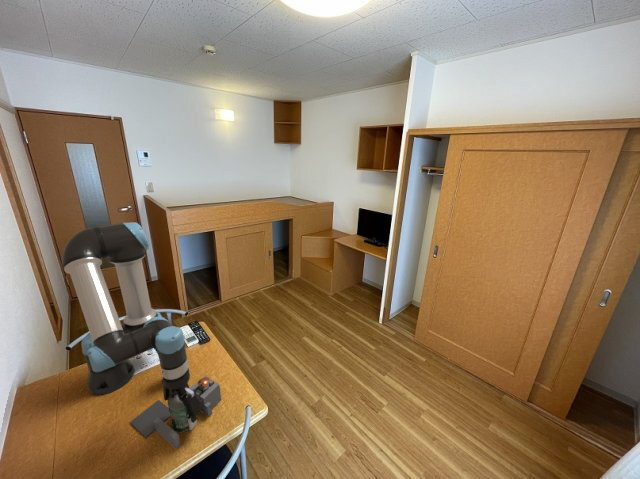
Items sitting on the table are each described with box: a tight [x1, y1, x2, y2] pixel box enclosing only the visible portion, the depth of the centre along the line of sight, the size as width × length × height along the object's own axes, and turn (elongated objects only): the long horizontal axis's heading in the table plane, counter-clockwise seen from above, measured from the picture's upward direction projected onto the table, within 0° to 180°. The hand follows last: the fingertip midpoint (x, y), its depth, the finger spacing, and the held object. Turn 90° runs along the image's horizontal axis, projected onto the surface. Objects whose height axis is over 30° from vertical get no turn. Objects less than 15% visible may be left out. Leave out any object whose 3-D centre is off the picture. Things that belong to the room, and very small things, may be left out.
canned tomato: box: [167, 393, 190, 434], centre depth 90 cm, size 8×8×11 cm
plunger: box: [197, 376, 211, 394], centre depth 97 cm, size 4×4×7 cm
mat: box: [129, 399, 171, 439], centre depth 92 cm, size 10×10×1 cm
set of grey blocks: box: [154, 375, 222, 450], centre depth 93 cm, size 11×20×8 cm, turn 151°
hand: (184, 420), depth 92 cm, fingers closed on canned tomato, 8 cm apart
